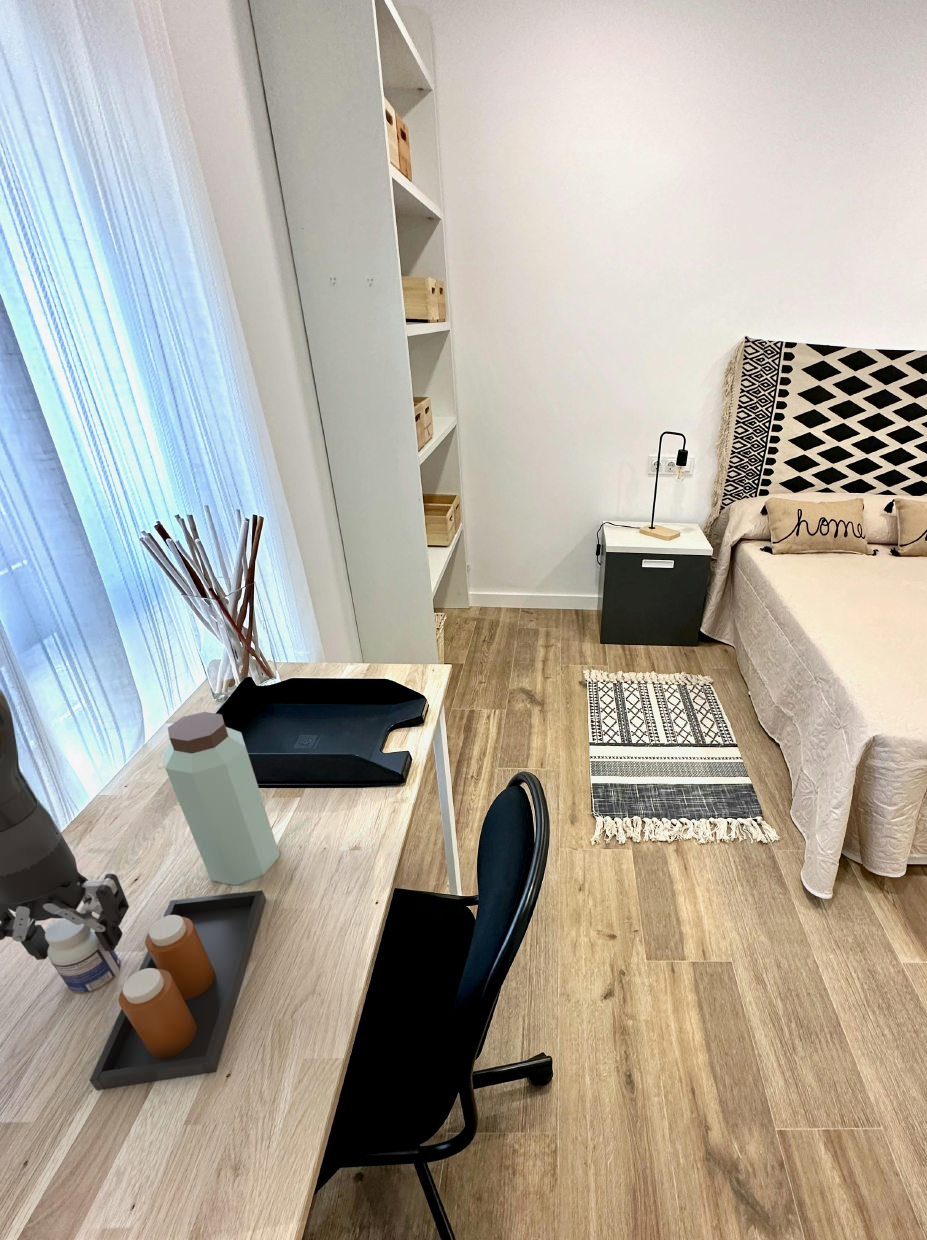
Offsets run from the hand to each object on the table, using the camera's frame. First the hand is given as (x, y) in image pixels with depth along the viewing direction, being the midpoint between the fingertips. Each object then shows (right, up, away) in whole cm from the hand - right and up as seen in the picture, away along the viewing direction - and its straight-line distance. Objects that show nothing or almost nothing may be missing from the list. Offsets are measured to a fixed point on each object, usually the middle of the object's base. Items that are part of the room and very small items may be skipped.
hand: (79, 948), depth 74 cm
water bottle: (+10, +5, +19) cm, 22 cm away
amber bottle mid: (+12, -5, +2) cm, 13 cm away
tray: (+12, -6, +3) cm, 14 cm away
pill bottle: (0, -5, +3) cm, 6 cm away
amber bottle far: (+13, -9, -4) cm, 16 cm away
